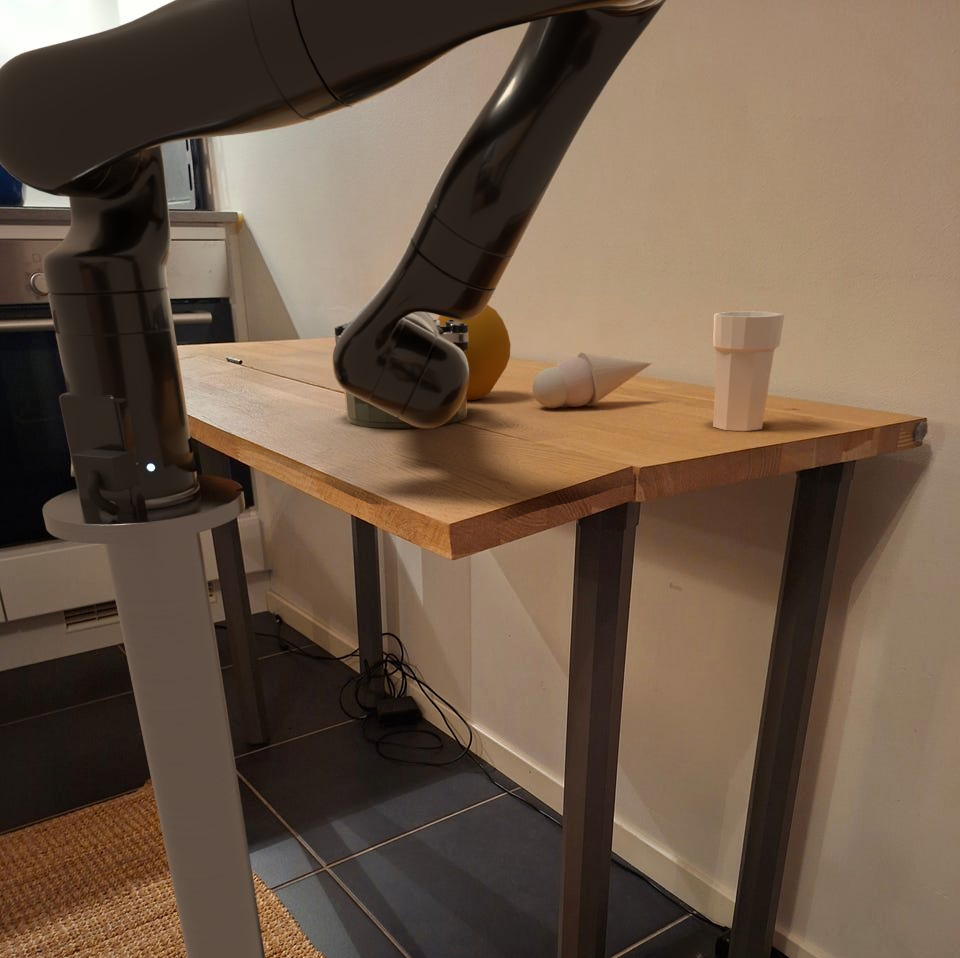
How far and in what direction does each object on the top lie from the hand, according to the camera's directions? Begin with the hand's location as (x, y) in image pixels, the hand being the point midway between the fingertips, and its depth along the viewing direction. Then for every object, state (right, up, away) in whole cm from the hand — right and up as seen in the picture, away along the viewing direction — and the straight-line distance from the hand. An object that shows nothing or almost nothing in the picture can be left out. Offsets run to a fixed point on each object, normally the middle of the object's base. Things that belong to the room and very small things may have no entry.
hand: (402, 329), depth 101 cm
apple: (+8, -5, +13) cm, 15 cm away
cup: (+36, -13, -7) cm, 39 cm away
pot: (0, -9, +1) cm, 10 cm away
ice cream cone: (+22, -7, +6) cm, 24 cm away
